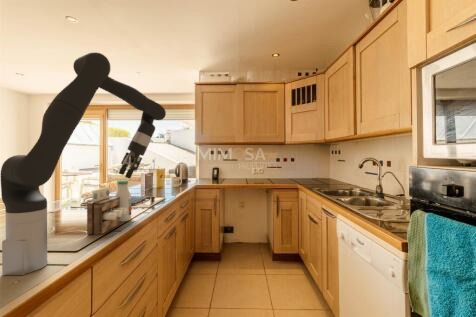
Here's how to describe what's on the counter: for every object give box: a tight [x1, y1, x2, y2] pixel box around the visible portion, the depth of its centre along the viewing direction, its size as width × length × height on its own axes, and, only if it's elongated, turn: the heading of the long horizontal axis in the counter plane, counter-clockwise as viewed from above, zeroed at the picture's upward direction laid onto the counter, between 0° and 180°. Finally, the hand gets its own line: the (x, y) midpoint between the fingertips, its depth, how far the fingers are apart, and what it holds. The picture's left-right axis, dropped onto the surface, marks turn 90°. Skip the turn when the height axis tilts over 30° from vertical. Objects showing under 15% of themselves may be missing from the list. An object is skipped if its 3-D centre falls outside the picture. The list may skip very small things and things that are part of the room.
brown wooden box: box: [86, 196, 121, 235], centre depth 109 cm, size 15×6×13 cm, turn 178°
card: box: [91, 186, 111, 203], centre depth 109 cm, size 12×1×5 cm, turn 178°
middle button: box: [108, 210, 122, 217], centre depth 109 cm, size 3×5×3 cm, turn 88°
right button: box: [114, 208, 127, 214], centre depth 113 cm, size 3×5×3 cm, turn 88°
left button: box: [102, 212, 117, 220], centre depth 104 cm, size 3×5×3 cm, turn 88°
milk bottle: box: [114, 180, 132, 223], centre depth 123 cm, size 8×8×20 cm
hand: (124, 175), depth 109 cm, fingers open, 8 cm apart
